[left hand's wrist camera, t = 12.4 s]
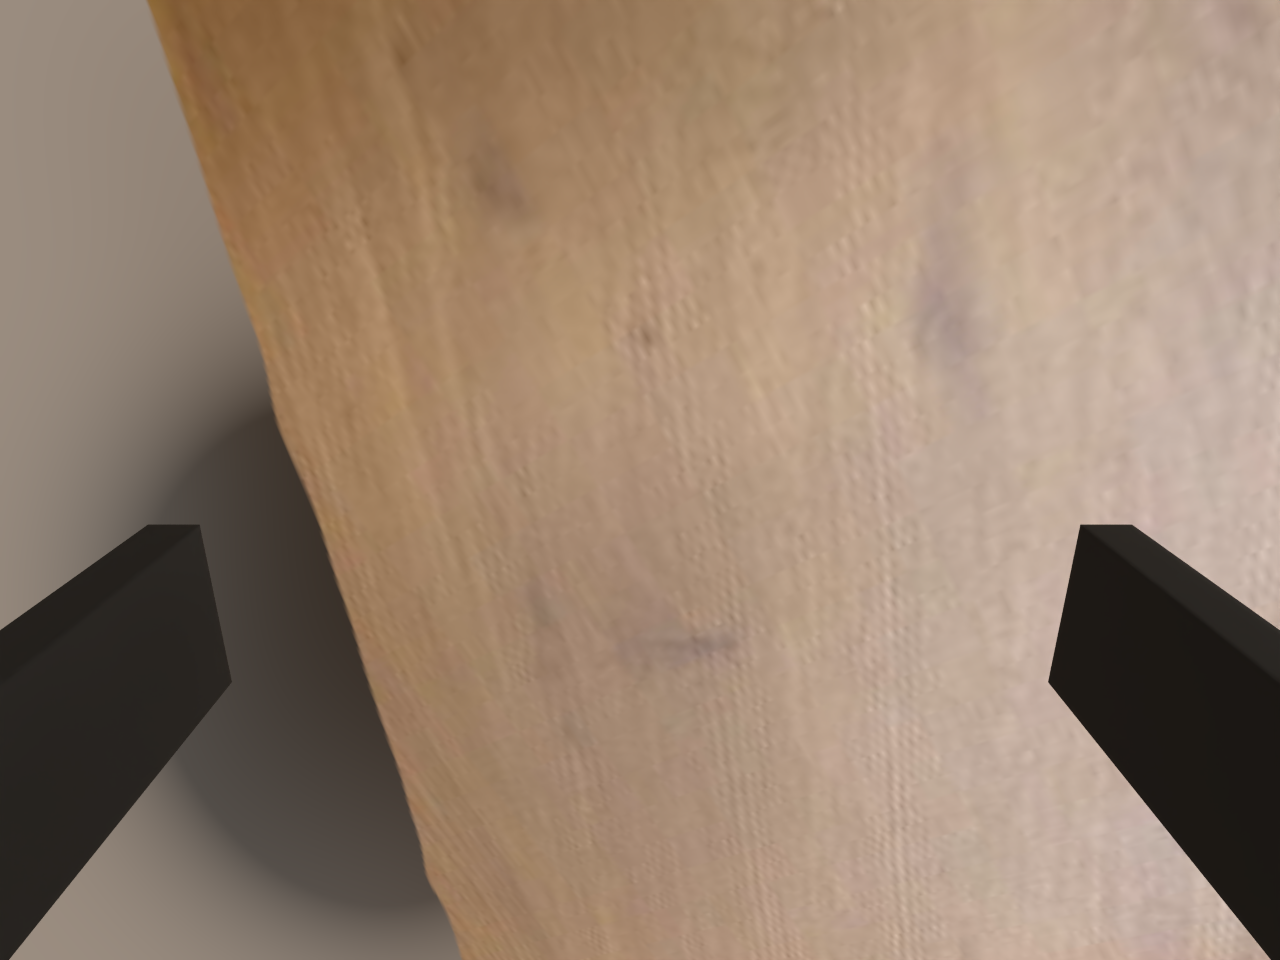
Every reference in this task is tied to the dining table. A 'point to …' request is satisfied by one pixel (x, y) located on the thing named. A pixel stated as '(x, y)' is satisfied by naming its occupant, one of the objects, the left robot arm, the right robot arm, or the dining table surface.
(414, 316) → the dining table surface
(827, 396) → the dining table surface
